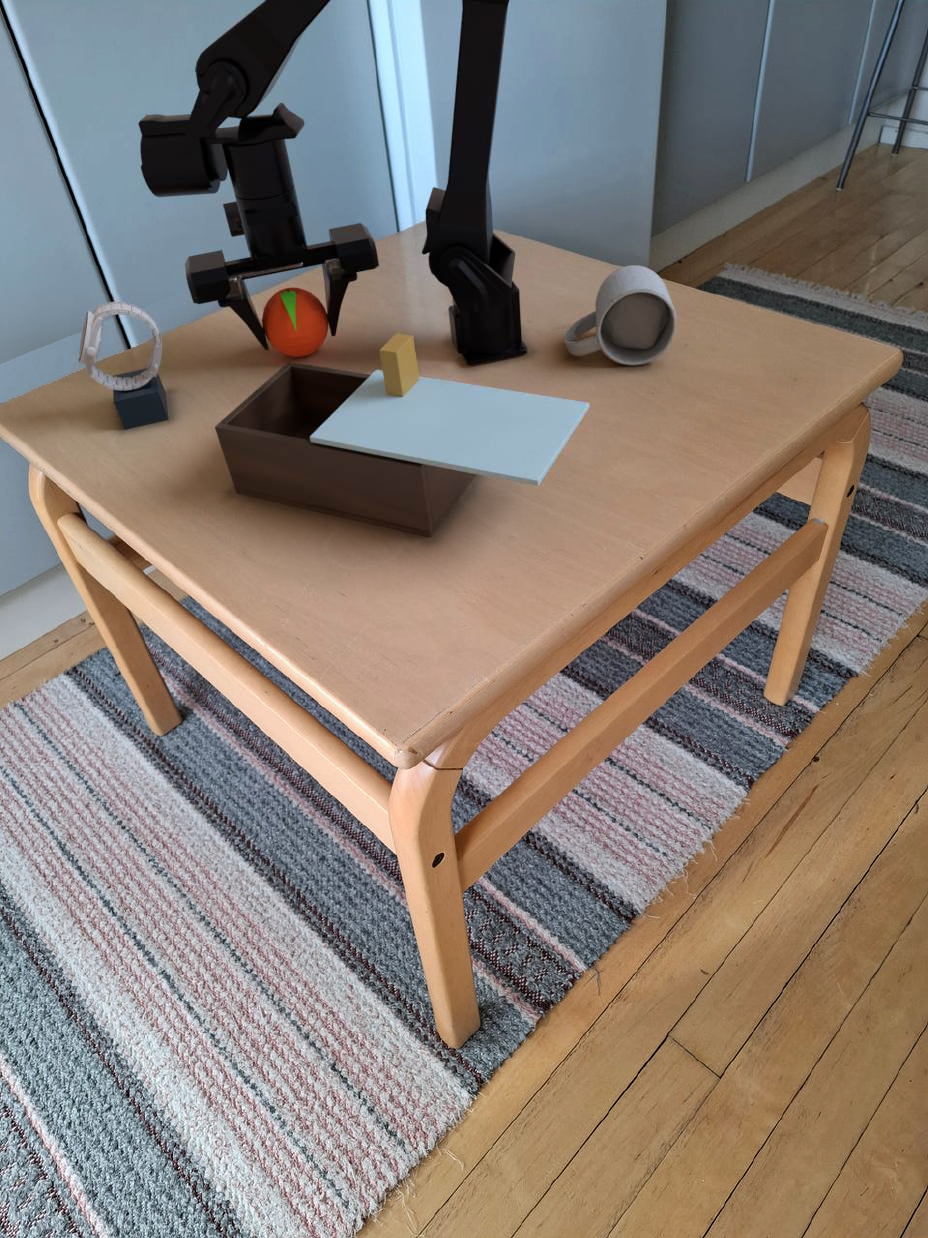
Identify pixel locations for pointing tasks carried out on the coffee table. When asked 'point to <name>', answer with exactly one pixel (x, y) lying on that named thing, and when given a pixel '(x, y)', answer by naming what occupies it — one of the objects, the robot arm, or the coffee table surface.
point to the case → (328, 457)
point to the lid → (451, 421)
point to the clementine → (295, 322)
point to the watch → (132, 391)
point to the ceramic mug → (627, 318)
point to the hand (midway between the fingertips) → (300, 341)
